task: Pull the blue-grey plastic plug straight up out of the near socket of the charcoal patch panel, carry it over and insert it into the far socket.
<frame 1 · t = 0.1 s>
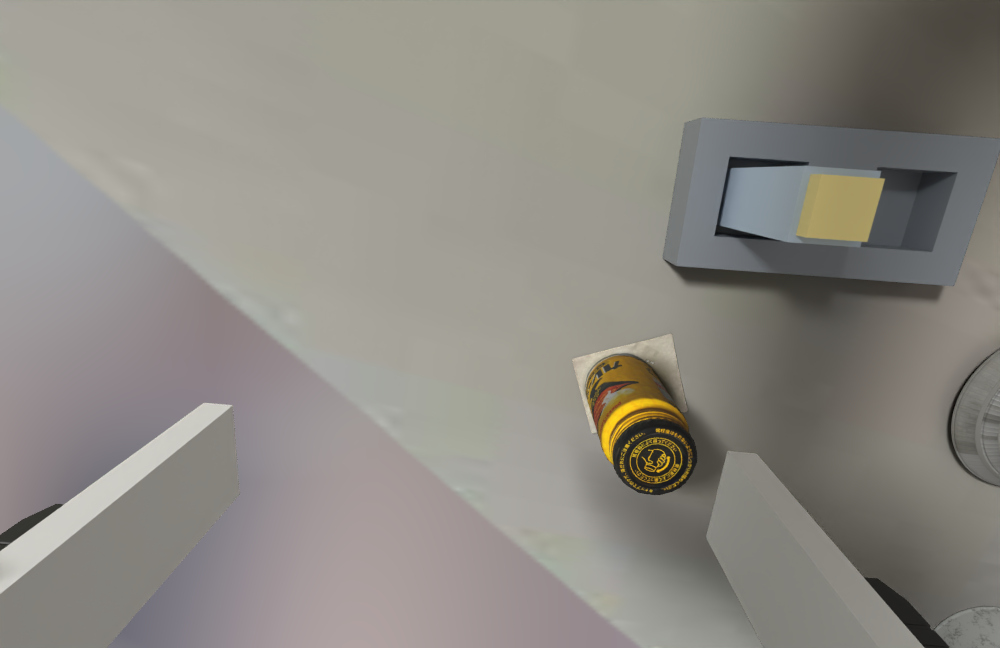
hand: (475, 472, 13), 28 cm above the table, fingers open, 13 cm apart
condiment: (629, 383, 43), on the table
plug: (741, 198, 37), resting on panel
panel: (804, 202, 38), on the table
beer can: (973, 642, 49), on the table
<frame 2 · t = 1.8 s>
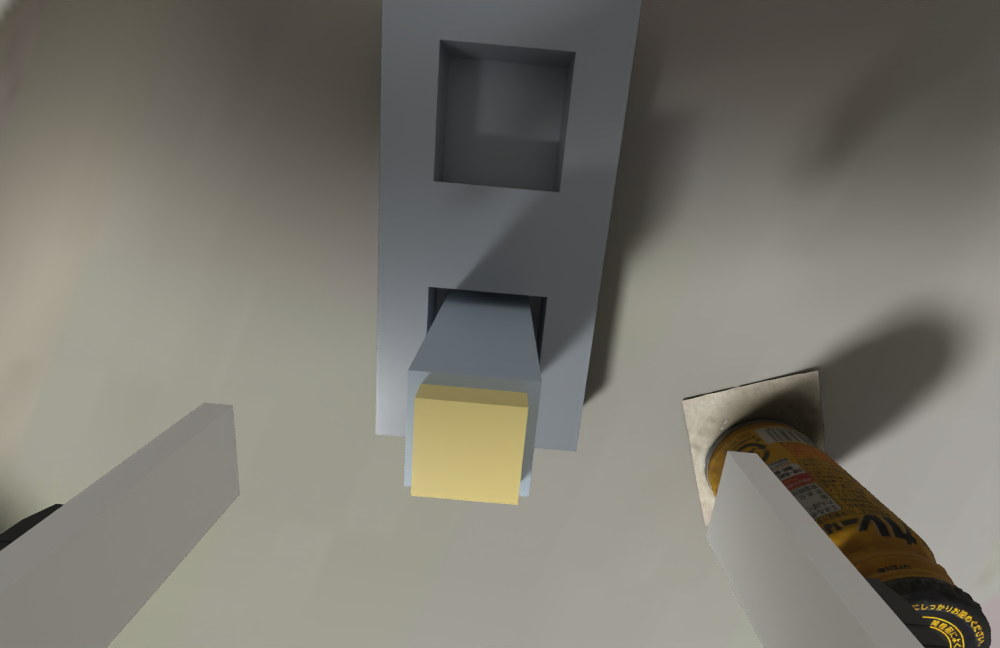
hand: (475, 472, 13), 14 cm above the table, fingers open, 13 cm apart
condiment: (754, 448, 29), on the table
plug: (486, 329, 26), resting on panel
panel: (494, 232, 25), on the table
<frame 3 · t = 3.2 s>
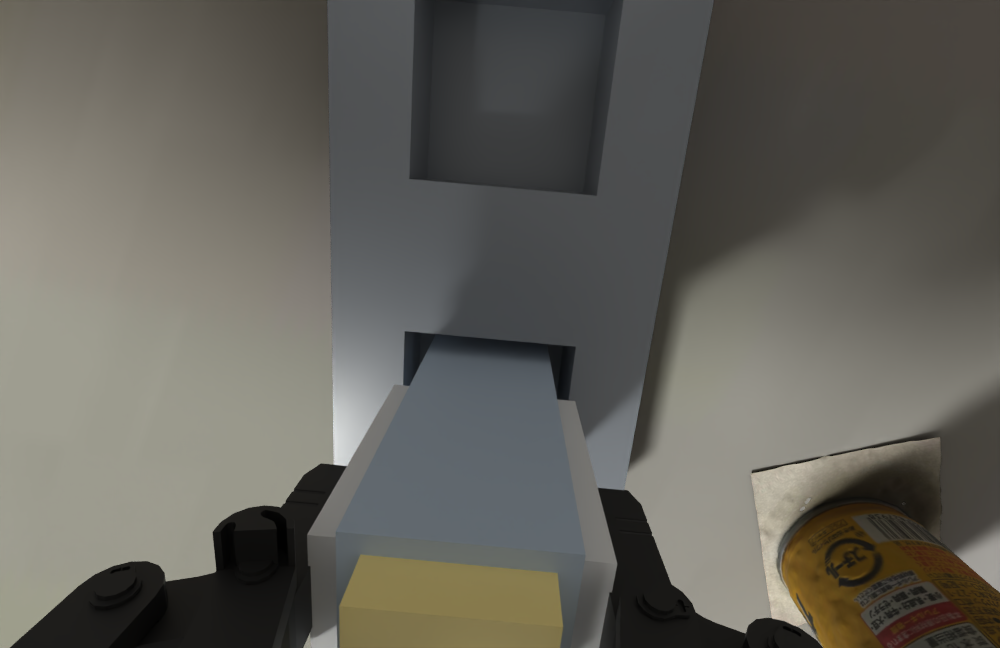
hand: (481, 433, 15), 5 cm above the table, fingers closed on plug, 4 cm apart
condiment: (844, 533, 22), on the table
plug: (488, 380, 19), resting on panel, touching gripper
panel: (499, 249, 18), on the table
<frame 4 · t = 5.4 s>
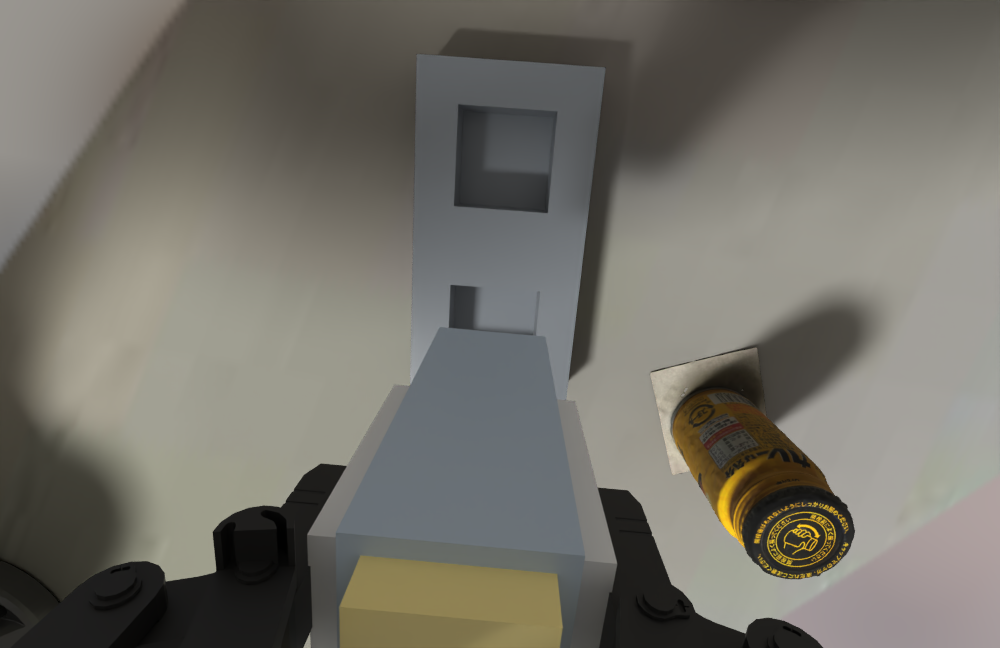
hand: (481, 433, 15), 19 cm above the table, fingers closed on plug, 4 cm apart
condiment: (710, 411, 36), on the table
plug: (488, 380, 19), point 15 cm above the table, touching gripper
panel: (499, 242, 32), on the table
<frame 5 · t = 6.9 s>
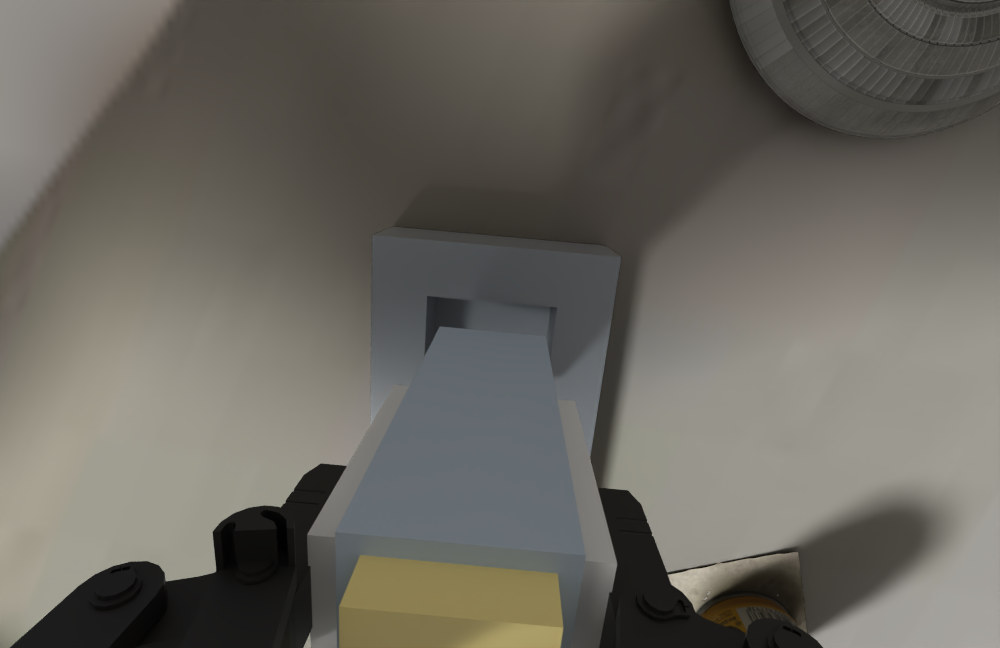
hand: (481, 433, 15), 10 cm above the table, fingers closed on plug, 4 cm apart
condiment: (737, 614, 29), on the table
plug: (488, 380, 19), point 6 cm above the table, touching gripper
panel: (483, 427, 26), on the table
when the fingers open (6 cm above the table, at t = 7.8 s): plug drops 2 cm, resting on panel.
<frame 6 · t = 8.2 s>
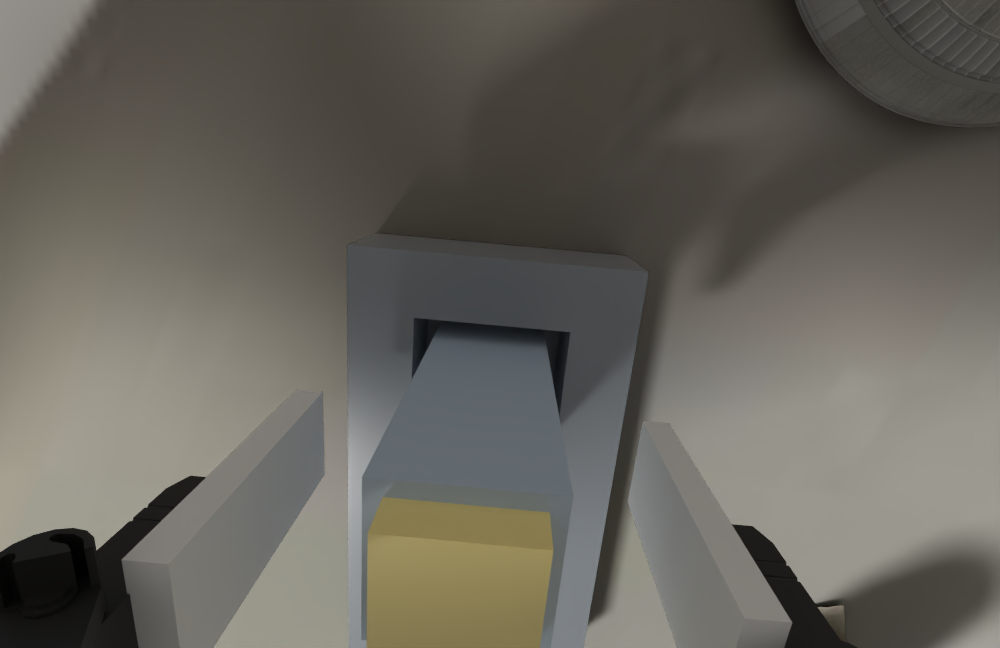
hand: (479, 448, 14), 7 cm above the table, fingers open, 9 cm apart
plug: (489, 366, 21), resting on panel
panel: (482, 463, 23), on the table
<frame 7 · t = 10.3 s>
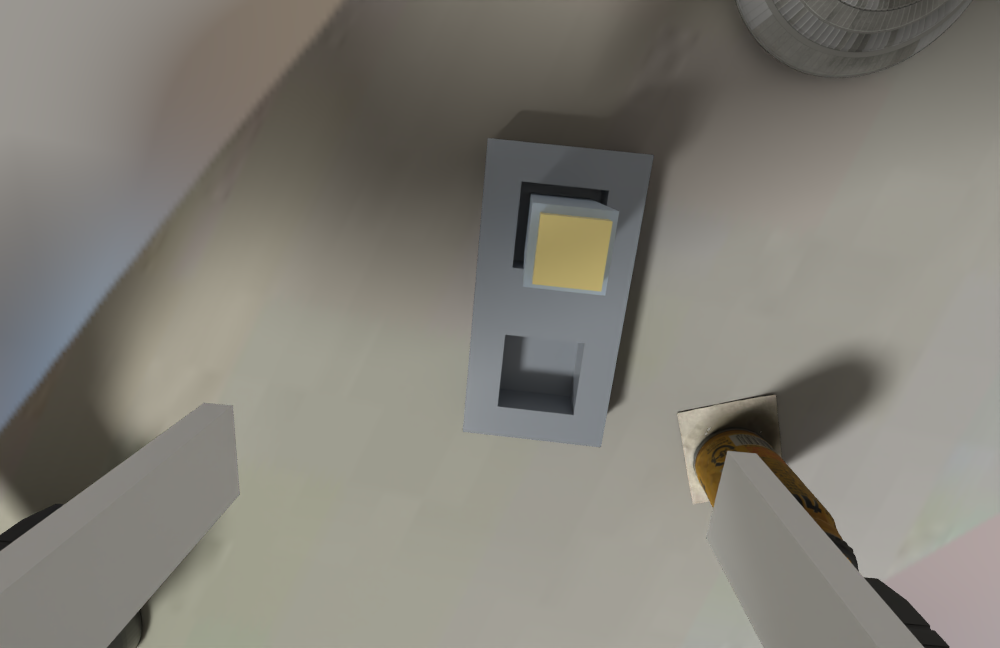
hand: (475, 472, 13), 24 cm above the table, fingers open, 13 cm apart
condiment: (730, 448, 39), on the table
plug: (556, 225, 34), resting on panel
panel: (547, 293, 36), on the table
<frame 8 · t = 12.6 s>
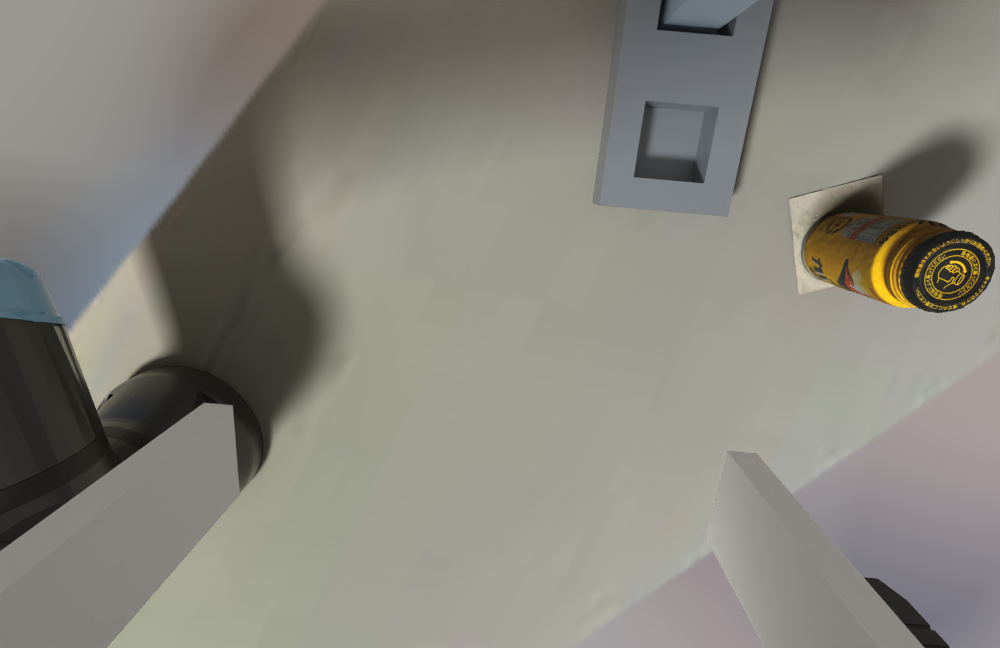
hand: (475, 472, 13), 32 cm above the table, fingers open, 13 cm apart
condiment: (835, 236, 42), on the table
plug: (687, 3, 37), resting on panel
panel: (673, 78, 39), on the table
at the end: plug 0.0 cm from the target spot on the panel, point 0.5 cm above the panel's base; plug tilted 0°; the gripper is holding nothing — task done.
